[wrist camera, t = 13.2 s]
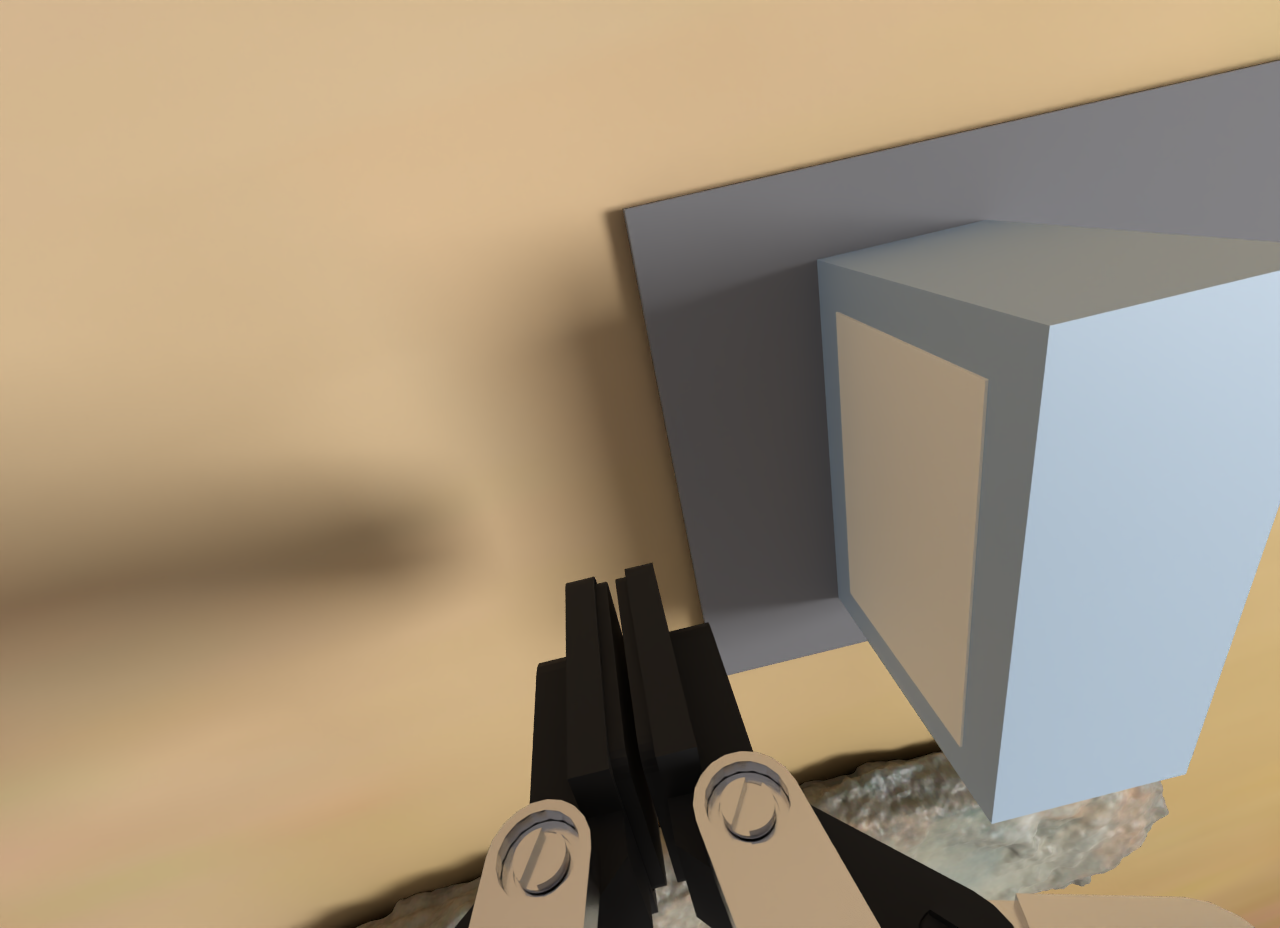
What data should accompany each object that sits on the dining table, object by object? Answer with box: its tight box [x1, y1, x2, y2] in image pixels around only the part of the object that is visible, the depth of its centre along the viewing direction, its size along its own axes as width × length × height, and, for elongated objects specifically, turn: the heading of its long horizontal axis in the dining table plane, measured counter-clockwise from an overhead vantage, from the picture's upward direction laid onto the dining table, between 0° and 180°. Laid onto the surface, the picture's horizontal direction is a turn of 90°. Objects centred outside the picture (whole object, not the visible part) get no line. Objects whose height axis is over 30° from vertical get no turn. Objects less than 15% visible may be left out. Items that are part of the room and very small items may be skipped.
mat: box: [623, 60, 1280, 675], centre depth 16 cm, size 14×16×1 cm
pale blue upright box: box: [817, 220, 1280, 824], centre depth 12 cm, size 10×4×7 cm, turn 12°
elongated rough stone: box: [356, 751, 1169, 928], centre depth 22 cm, size 35×5×10 cm
